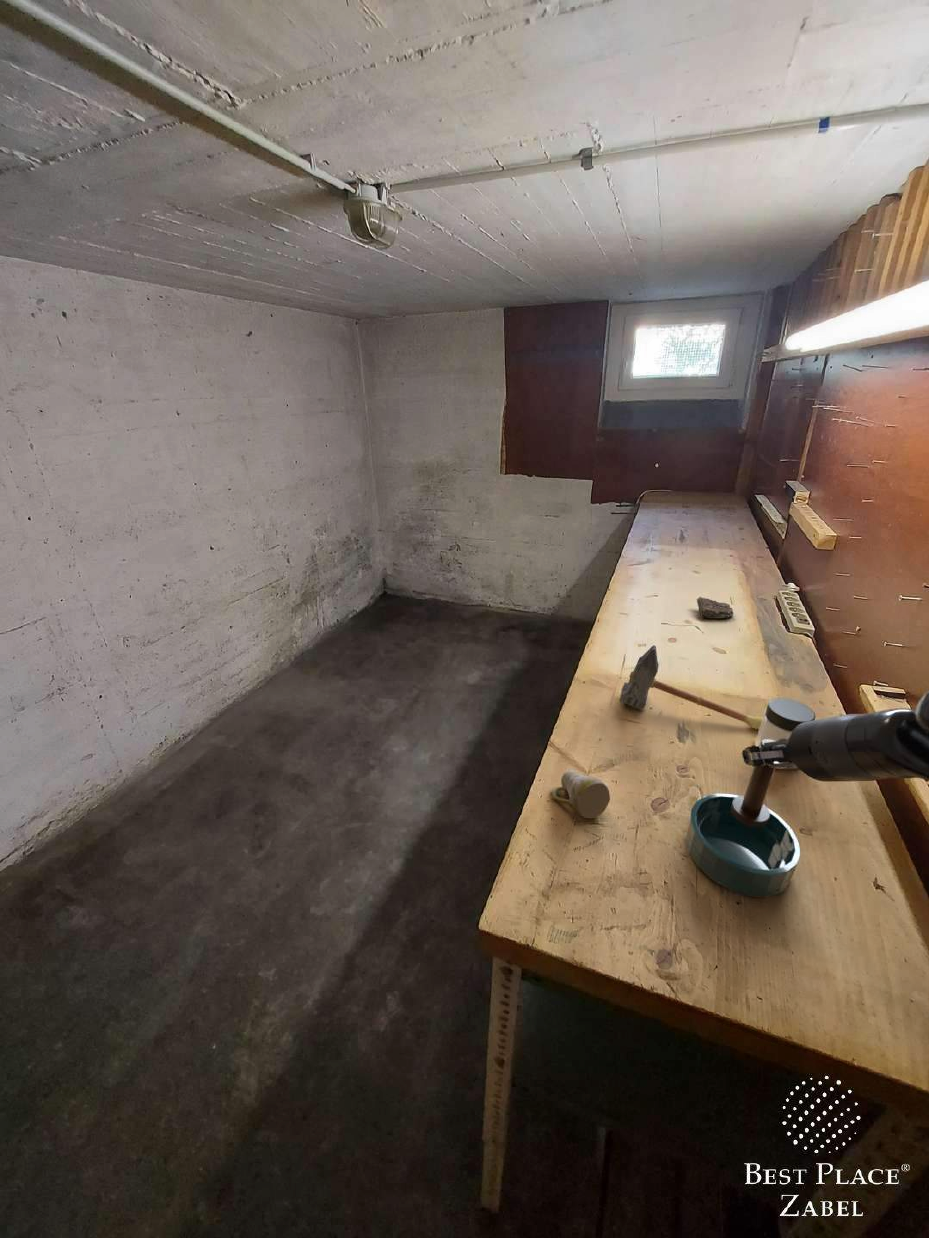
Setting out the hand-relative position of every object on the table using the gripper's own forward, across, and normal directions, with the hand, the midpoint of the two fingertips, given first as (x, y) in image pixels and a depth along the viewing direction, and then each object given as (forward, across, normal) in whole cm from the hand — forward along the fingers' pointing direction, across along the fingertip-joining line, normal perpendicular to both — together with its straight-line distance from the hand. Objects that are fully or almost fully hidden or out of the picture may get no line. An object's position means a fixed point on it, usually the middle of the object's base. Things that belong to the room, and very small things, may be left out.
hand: (756, 756), depth 74 cm
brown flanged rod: (+6, 0, +8) cm, 10 cm away
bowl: (+13, 0, +15) cm, 20 cm away
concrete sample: (+74, -46, -47) cm, 99 cm away
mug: (+23, +22, +6) cm, 32 cm away
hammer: (+39, -11, -11) cm, 42 cm away
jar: (+28, -22, 0) cm, 36 cm away
